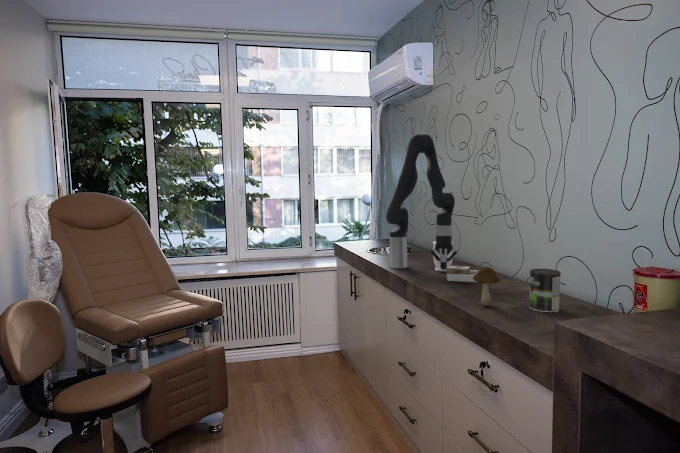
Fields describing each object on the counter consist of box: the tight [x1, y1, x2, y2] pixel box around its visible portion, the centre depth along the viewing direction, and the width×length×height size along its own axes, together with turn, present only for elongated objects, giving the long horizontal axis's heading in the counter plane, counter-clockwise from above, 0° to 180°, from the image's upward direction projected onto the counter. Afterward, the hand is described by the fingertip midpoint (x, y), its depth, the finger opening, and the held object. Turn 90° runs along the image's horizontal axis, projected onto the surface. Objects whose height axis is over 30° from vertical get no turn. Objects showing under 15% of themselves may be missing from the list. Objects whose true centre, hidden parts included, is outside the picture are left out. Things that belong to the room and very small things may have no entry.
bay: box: [446, 269, 479, 283], centre depth 220 cm, size 15×12×3 cm
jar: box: [432, 240, 454, 272], centre depth 240 cm, size 11×10×15 cm
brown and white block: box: [445, 265, 471, 280], centre depth 222 cm, size 11×7×6 cm, turn 71°
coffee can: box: [528, 268, 562, 314], centre depth 167 cm, size 10×10×14 cm
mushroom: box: [473, 266, 501, 307], centre depth 173 cm, size 9×11×15 cm
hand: (443, 269), depth 222 cm, fingers closed
